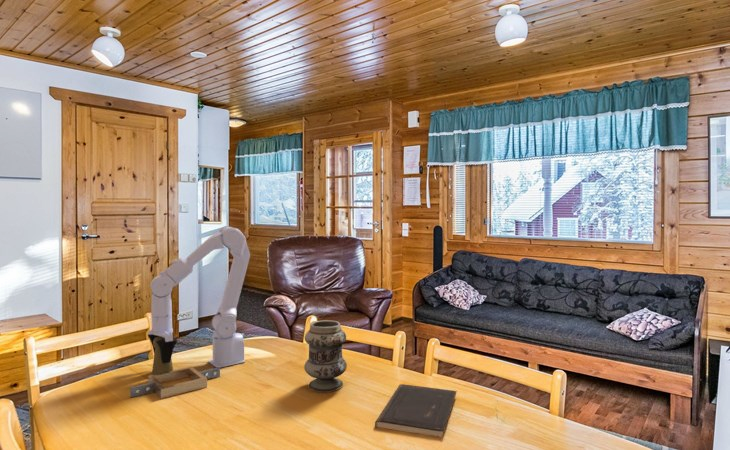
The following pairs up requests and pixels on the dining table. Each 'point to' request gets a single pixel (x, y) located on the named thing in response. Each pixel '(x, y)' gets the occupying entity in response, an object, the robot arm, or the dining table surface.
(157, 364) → the cork
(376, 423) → the hardcover book
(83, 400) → the dining table surface
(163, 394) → the square frame
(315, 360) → the apothecary jar
